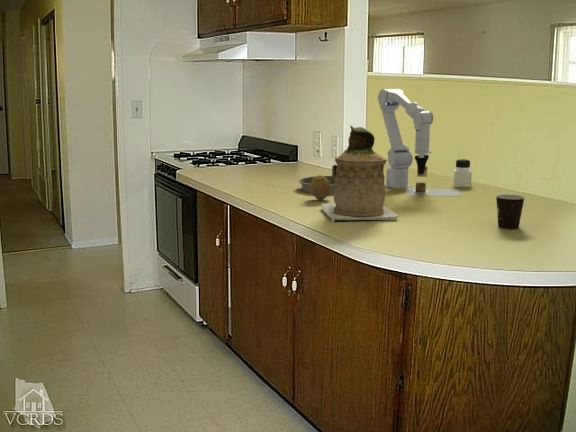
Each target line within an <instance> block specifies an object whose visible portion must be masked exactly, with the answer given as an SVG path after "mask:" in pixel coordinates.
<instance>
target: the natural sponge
mask: <svg viewBox="0 0 576 432" xmlns="http://www.w3.org/2000/svg"><path fill="white" fill-rule="evenodd" d="M324 176H325V175H320V174H319V175H316V177H314V178H313V179H312V181H311V183H310V186H309V190H310V192H311V193H310V192H309V193H310V194H312V196H313V197H314V198H315V199H317V200H318V201H323V200H325V199H326V198H327V197H329V196H330V195H332V194H331V193H332V187H331V184H330V182H329V180H328V179H327V178H326V177H324Z"/></svg>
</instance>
